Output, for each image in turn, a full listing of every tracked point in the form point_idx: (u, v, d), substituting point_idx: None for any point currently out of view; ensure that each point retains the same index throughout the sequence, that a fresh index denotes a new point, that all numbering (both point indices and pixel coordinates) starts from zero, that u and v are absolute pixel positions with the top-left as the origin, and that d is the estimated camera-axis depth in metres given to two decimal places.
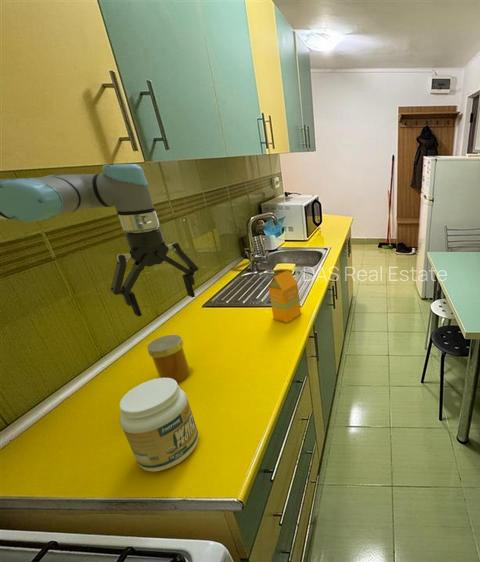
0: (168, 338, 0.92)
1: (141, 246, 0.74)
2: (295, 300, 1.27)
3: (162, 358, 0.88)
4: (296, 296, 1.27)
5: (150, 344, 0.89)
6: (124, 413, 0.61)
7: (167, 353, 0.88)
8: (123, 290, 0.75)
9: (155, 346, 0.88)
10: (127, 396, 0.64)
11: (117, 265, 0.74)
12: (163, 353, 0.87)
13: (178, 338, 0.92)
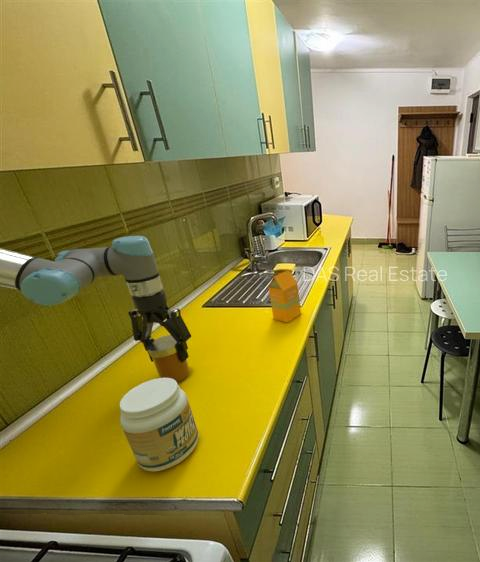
0: (168, 338, 0.92)
1: (135, 307, 0.83)
2: (295, 300, 1.27)
3: (162, 358, 0.88)
4: (296, 296, 1.27)
5: (150, 344, 0.89)
6: (124, 413, 0.61)
7: (167, 353, 0.88)
8: None
9: (155, 346, 0.88)
10: (127, 396, 0.64)
11: None
12: (163, 353, 0.87)
13: None
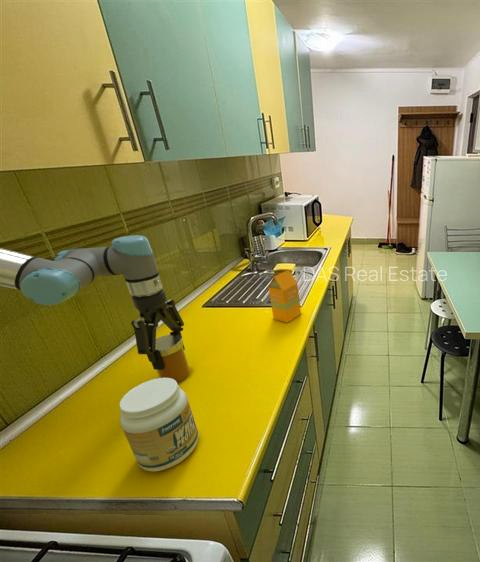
0: (156, 342, 0.90)
1: (155, 306, 0.83)
2: (295, 300, 1.27)
3: (162, 358, 0.88)
4: (296, 296, 1.27)
5: (159, 349, 0.87)
6: (124, 413, 0.61)
7: (182, 341, 0.93)
8: (150, 349, 0.84)
9: (168, 344, 0.89)
10: (127, 396, 0.64)
11: (137, 330, 0.81)
12: (182, 341, 0.92)
13: (163, 336, 0.93)
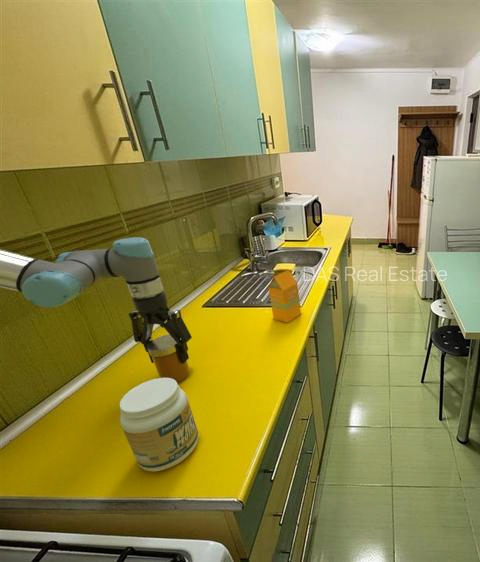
0: (160, 346, 0.88)
1: (136, 309, 0.83)
2: (295, 300, 1.27)
3: (162, 358, 0.88)
4: (296, 296, 1.27)
5: None
6: (124, 413, 0.61)
7: None
8: None
9: None
10: (127, 396, 0.64)
11: None
12: None
13: (149, 346, 0.88)
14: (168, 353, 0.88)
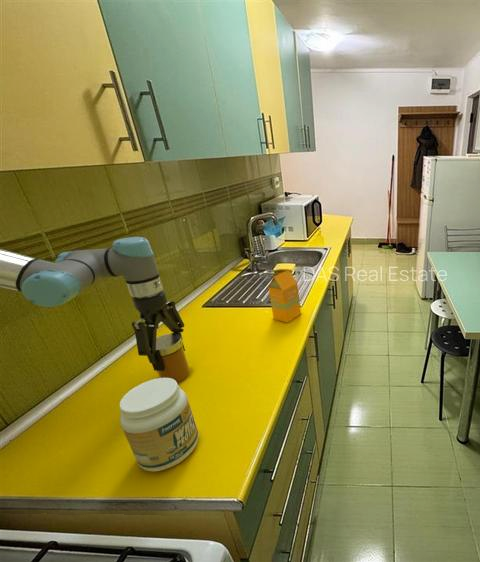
0: (171, 341, 0.90)
1: (156, 307, 0.83)
2: (295, 300, 1.27)
3: (162, 358, 0.88)
4: (296, 296, 1.27)
5: (169, 334, 0.94)
6: (124, 413, 0.61)
7: None
8: (151, 350, 0.84)
9: (160, 338, 0.92)
10: (127, 396, 0.64)
11: (137, 332, 0.81)
12: None
13: (164, 347, 0.87)
14: (182, 341, 0.93)
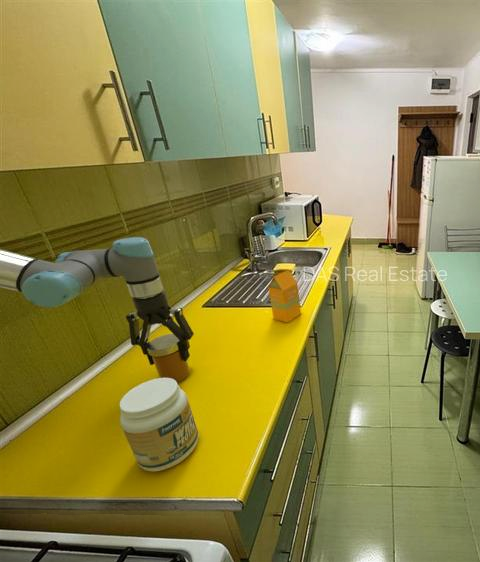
0: (166, 337, 0.92)
1: None
2: (295, 300, 1.27)
3: (162, 358, 0.88)
4: (296, 296, 1.27)
5: (149, 345, 0.89)
6: (124, 413, 0.61)
7: (170, 351, 0.88)
8: None
9: (156, 346, 0.88)
10: (127, 396, 0.64)
11: (181, 318, 0.88)
12: (166, 351, 0.87)
13: None
14: None
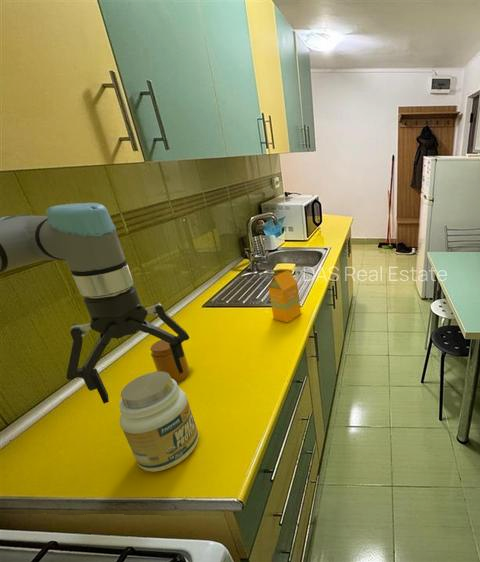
0: (143, 380, 0.65)
1: None
2: (295, 300, 1.27)
3: (162, 358, 0.88)
4: (296, 296, 1.27)
5: (125, 396, 0.61)
6: (124, 413, 0.61)
7: (166, 392, 0.64)
8: None
9: (140, 393, 0.62)
10: None
11: (166, 315, 0.62)
12: (162, 394, 0.63)
13: (160, 373, 0.67)
14: None
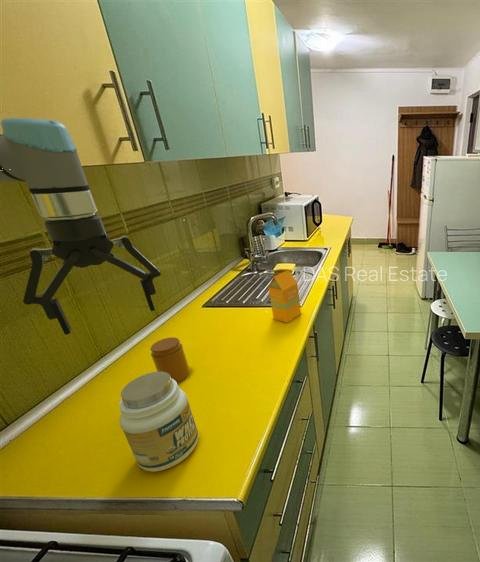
0: (143, 380, 0.65)
1: None
2: (295, 300, 1.27)
3: (162, 358, 0.88)
4: (296, 296, 1.27)
5: (125, 396, 0.61)
6: (124, 413, 0.61)
7: (166, 392, 0.64)
8: None
9: (140, 393, 0.62)
10: None
11: (134, 248, 0.61)
12: (162, 394, 0.63)
13: (160, 373, 0.67)
14: None
